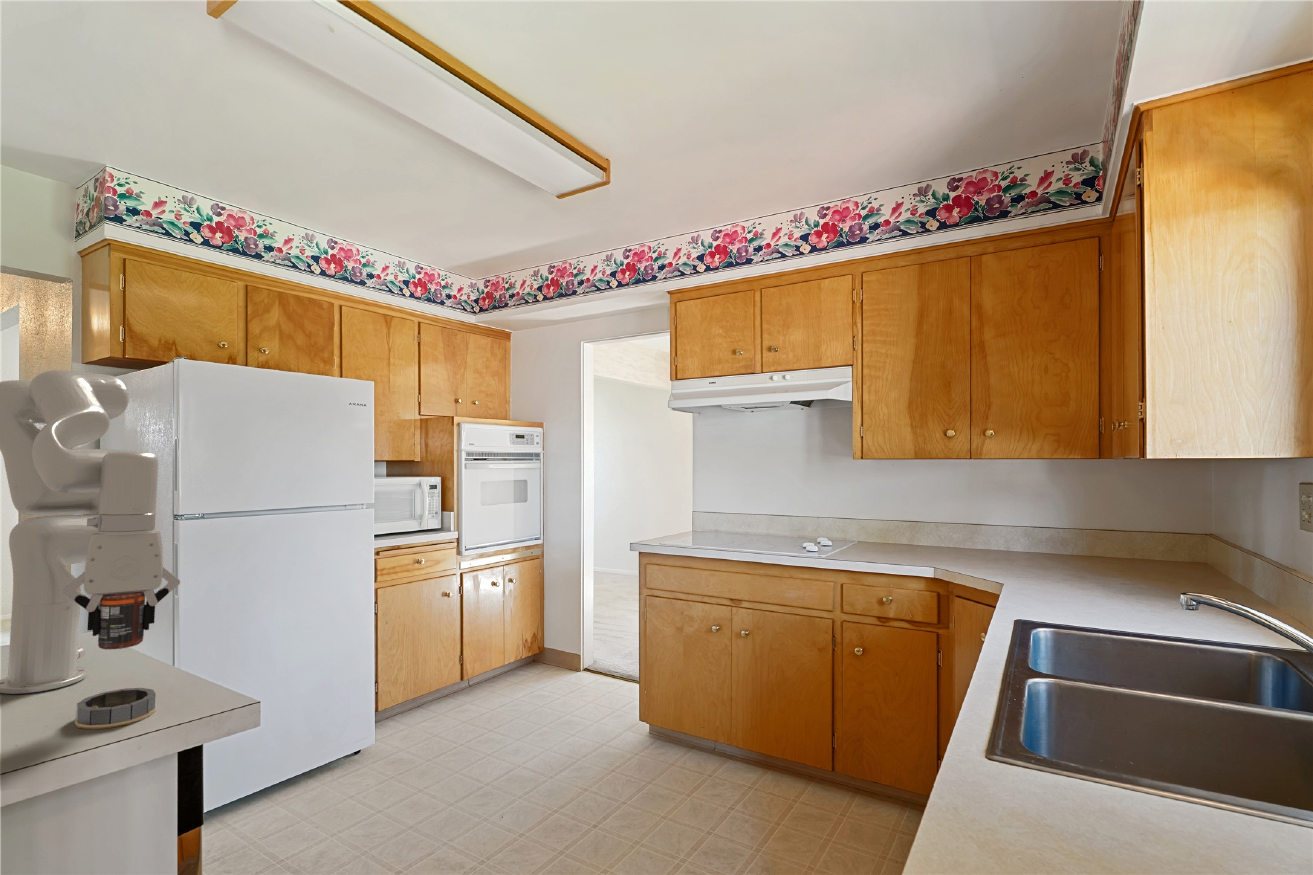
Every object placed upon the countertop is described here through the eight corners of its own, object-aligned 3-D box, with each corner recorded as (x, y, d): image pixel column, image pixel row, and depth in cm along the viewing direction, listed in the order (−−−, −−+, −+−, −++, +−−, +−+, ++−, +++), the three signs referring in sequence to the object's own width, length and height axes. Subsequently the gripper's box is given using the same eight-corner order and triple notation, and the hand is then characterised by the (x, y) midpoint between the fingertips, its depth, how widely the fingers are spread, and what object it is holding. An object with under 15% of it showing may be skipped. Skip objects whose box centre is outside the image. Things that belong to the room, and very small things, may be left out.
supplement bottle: (138, 638, 114) (141, 573, 114) (147, 645, 110) (151, 578, 110) (93, 645, 109) (97, 577, 109) (101, 652, 105) (105, 582, 106)
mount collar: (96, 707, 113) (97, 689, 113) (166, 702, 116) (167, 685, 116) (59, 731, 103) (60, 712, 103) (137, 726, 106) (138, 707, 106)
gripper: (56, 528, 102) (49, 644, 101) (191, 524, 113) (185, 628, 112) (60, 524, 108) (54, 633, 107) (188, 520, 118) (183, 619, 118)
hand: (121, 630), depth 110 cm, fingers closed on supplement bottle, 6 cm apart
